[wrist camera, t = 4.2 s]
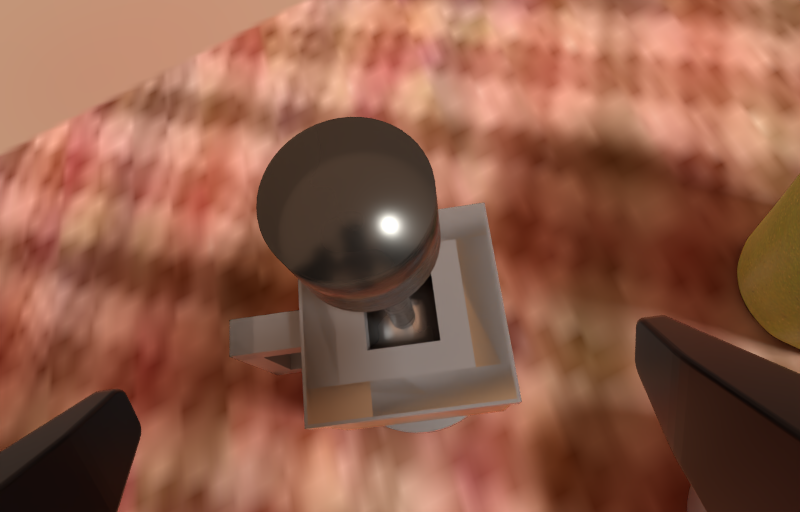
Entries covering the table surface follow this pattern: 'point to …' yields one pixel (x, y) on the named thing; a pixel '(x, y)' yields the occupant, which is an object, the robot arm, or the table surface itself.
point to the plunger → (358, 224)
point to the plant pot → (775, 269)
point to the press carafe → (399, 347)
